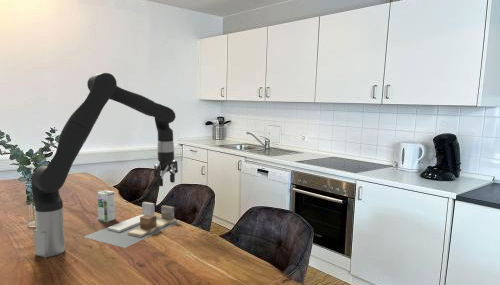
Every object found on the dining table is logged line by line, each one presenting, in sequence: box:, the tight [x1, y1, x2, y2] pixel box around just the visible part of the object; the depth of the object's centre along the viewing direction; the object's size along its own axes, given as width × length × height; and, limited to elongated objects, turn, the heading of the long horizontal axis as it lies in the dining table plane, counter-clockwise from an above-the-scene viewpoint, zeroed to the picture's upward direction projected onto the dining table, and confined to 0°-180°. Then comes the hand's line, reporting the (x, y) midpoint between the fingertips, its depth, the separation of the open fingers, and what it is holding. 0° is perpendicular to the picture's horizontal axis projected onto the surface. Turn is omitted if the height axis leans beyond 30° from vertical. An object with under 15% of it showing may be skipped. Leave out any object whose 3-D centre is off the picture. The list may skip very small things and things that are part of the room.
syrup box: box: [97, 190, 116, 223], centre depth 178 cm, size 6×6×14 cm
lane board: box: [83, 214, 182, 249], centre depth 167 cm, size 36×24×1 cm, turn 154°
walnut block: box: [140, 214, 157, 230], centre depth 165 cm, size 5×5×5 cm
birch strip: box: [128, 205, 177, 237], centre depth 168 cm, size 24×7×7 cm, turn 154°
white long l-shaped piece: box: [108, 201, 157, 232], centre depth 173 cm, size 24×7×7 cm, turn 154°
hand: (166, 184), depth 176 cm, fingers open, 8 cm apart
